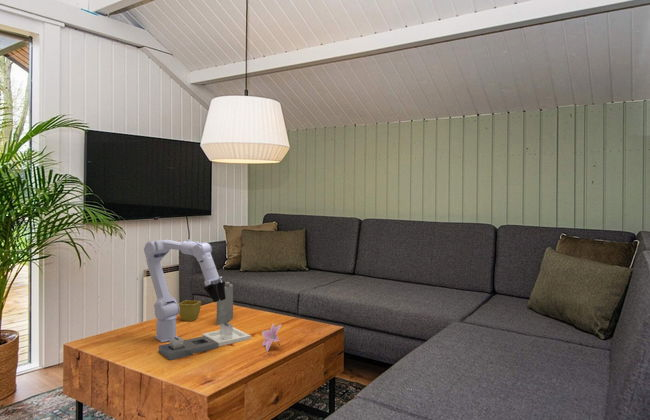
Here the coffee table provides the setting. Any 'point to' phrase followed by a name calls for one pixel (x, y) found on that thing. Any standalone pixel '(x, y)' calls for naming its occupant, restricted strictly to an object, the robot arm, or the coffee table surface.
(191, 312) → the flower pot
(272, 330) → the lily
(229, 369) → the coffee table surface
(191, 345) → the metal frame
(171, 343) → the billet
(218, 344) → the white square tray
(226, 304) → the hip flask
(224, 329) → the block
